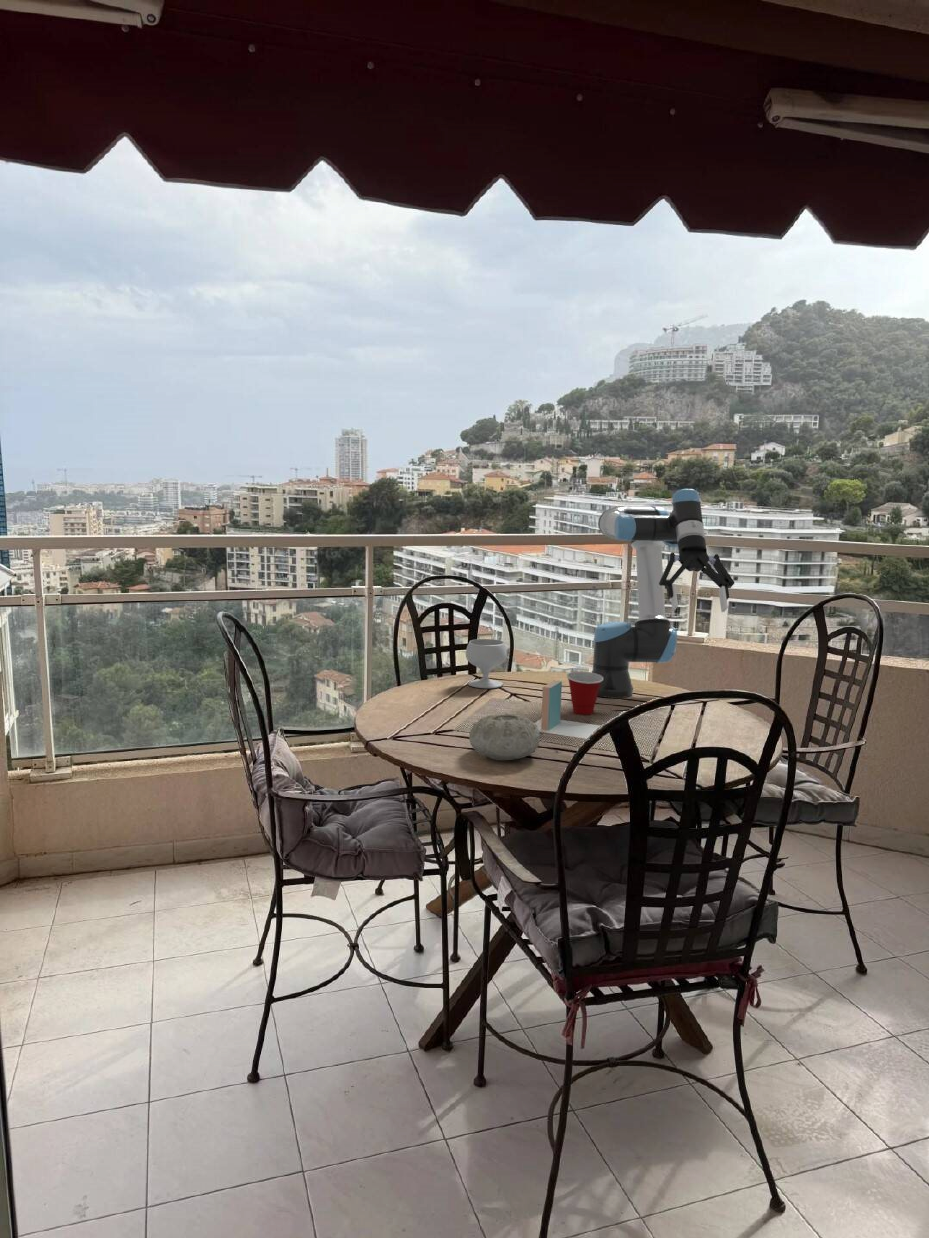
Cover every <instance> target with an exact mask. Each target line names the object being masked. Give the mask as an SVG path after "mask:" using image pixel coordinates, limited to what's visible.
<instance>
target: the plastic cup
mask: <svg viewBox="0 0 929 1238" xmlns="http://www.w3.org/2000/svg"><path fill="white" fill-rule="evenodd" d="M566 678H567V679H568V684H569V691H570V692H569V693H570V701H571V705H572V713H574V714H575V715H580V716H590V715H593V714H594V711H595V706H596V703H597V699H598V696H597V695H598V690H599V687H600V685H601V682H602V681H603V677H602V676H601V675H598V674H596V673H592V671H591V672H589V671H584V670H583V671H571V672H568V673H567V675H566Z"/></svg>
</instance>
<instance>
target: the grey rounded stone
mask: <svg viewBox="0 0 929 1238" xmlns="http://www.w3.org/2000/svg"><path fill="white" fill-rule="evenodd" d="M534 723H535V722H534V721H533V720H532V719H531V718H528V717H525V716H524V715H523V716H522V715H519V714H518V713H516V714H514V713H506V712H505V713H502V714H494V715H493V714H490V715H487V716H484V717H482V718H480V719H479V720H478V721H477V722H476V723H475V722H473V723H472V727H471V728H470V731H469V737H468V738H469V744H470V745H471V748H472V749H473V750H474V751H476V752H477V753H479V754H481V755H482V756H484V757H486V758H489V759H492V760H496V761H510V760H511V761H513V760H518V759H523V758H525V757H527V756H528V757H529V756H531V755H532V754H534V753H535V752H536V751H537V749H538V747H539V746H540V745H539V743H540V741H541V740H540V739H541V734H540V733H541V732H539V730H538V728H537V725H535V724H534Z"/></svg>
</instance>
